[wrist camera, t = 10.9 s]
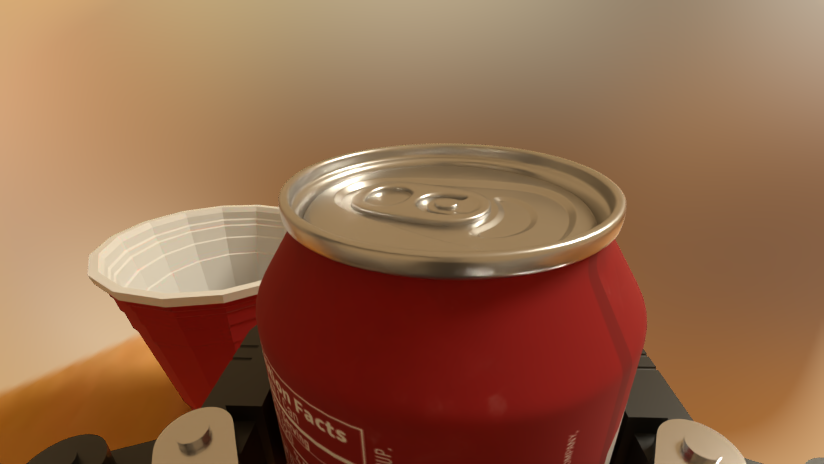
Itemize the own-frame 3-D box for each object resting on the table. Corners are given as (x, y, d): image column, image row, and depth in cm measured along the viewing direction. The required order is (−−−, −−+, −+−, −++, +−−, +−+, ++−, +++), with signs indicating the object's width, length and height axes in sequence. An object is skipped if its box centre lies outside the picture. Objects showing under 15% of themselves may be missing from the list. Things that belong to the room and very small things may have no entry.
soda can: (538, 839, 8) (746, 373, 3) (268, 649, 10) (117, 222, 5) (567, 507, 13) (655, 151, 8) (387, 436, 16) (370, 129, 11)
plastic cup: (384, 402, 25) (375, 230, 20) (208, 543, 18) (122, 336, 13) (292, 325, 32) (267, 181, 27) (138, 406, 25) (64, 234, 20)
